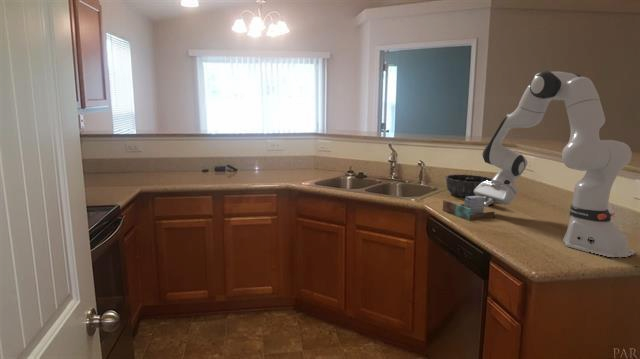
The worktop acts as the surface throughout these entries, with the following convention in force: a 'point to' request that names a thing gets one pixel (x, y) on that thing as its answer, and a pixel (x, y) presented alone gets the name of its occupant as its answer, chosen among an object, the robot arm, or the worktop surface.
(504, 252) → the worktop surface
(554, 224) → the worktop surface
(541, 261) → the worktop surface
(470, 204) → the medicine box
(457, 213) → the slot comb
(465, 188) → the bundt pan
